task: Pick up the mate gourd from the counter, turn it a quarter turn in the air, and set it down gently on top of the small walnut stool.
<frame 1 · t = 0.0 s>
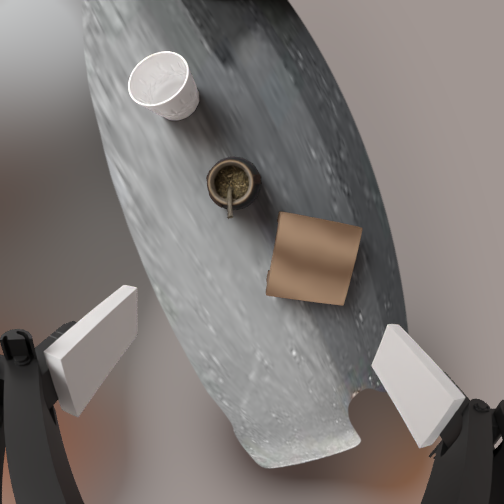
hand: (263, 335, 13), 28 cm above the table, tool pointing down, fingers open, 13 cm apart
walnut stool: (306, 251, 40), on the table
mate gourd: (236, 184, 39), on the table
white cup: (178, 101, 36), on the table
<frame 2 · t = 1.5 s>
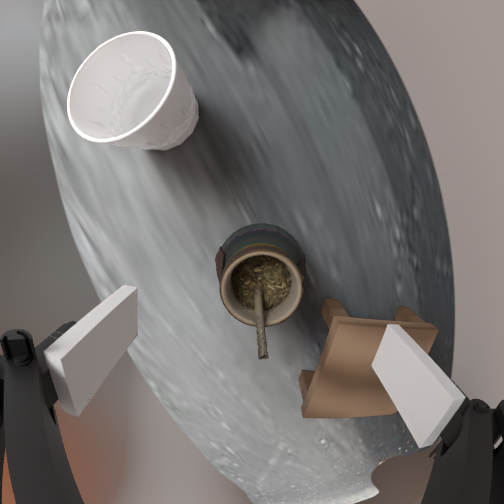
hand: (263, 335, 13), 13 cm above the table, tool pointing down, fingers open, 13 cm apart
walnut stool: (355, 345, 27), on the table
mate gourd: (260, 259, 25), on the table
white cup: (165, 117, 22), on the table
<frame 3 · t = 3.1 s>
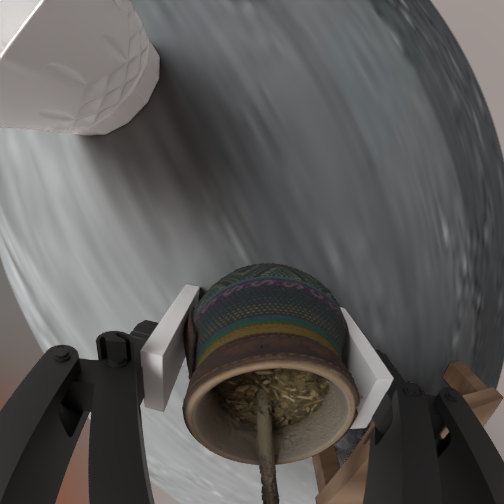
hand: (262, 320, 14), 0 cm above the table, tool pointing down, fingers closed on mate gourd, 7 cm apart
walnut stool: (390, 415, 17), on the table
mate gourd: (266, 316, 15), on the table, touching gripper
white cup: (110, 84, 12), on the table
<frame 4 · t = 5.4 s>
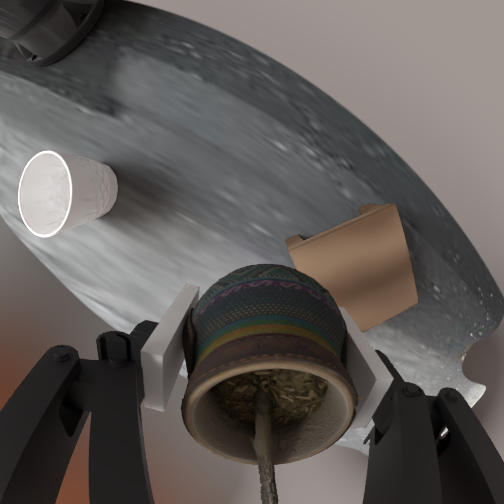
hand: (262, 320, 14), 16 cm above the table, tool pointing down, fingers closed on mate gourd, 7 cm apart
walnut stool: (344, 263, 30), on the table
mate gourd: (265, 316, 15), point 15 cm above the table, touching gripper
white cup: (96, 189, 28), on the table
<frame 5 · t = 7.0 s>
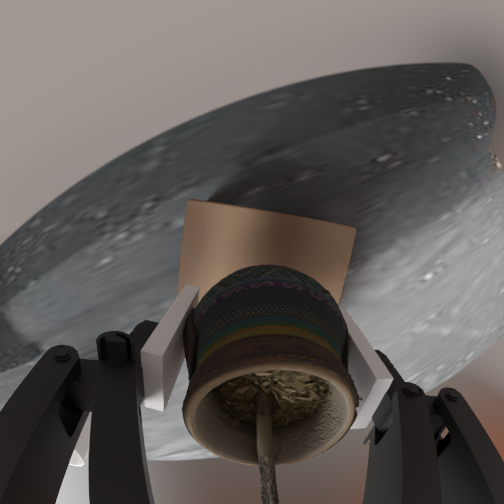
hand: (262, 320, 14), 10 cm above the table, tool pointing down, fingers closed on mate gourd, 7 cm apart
walnut stool: (258, 270, 24), on the table
mate gourd: (265, 316, 15), point 9 cm above the table, touching gripper
white cup: (87, 399, 28), on the table
when the fingers open (8 cm above the table, at t = 7.8 s): mate gourd drops 1 cm, resting on walnut stool.
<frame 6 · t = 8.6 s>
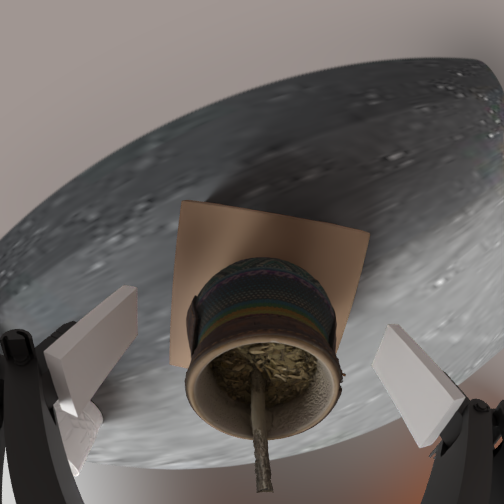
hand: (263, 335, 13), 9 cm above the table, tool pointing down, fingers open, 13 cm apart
walnut stool: (260, 277, 22), on the table
mate gourd: (262, 306, 16), point 6 cm above the table, touching walnut stool
white cup: (83, 406, 26), on the table
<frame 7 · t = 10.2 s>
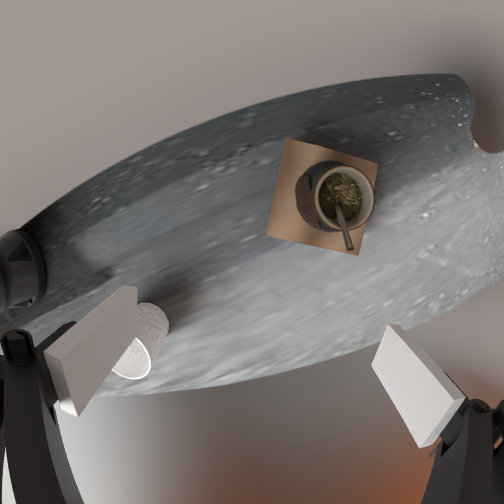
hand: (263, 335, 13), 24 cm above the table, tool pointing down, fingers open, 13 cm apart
walnut stool: (314, 196, 35), on the table
mate gourd: (324, 197, 29), point 6 cm above the table, touching walnut stool
white cup: (150, 320, 40), on the table
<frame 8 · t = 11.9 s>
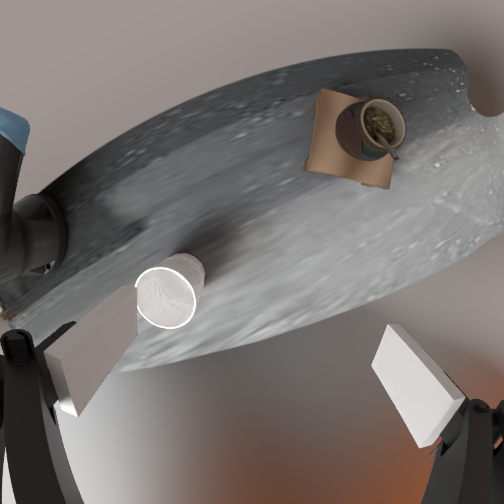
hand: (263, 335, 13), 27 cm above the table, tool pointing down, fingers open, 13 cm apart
walnut stool: (343, 144, 36), on the table
mate gourd: (357, 137, 30), point 6 cm above the table, touching walnut stool
white cup: (184, 273, 40), on the table
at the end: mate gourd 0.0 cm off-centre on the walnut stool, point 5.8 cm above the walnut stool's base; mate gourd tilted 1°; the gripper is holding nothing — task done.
